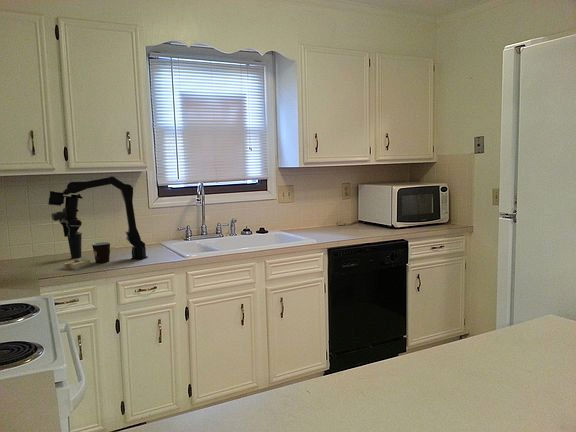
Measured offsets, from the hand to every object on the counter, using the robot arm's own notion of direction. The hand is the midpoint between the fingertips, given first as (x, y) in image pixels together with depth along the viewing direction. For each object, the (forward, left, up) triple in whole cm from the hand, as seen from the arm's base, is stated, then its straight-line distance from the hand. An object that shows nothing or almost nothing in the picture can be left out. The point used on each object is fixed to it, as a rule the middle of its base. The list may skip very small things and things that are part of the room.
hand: (68, 237), depth 236 cm
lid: (-6, +2, -14) cm, 15 cm away
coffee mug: (-12, -9, -15) cm, 21 cm away
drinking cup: (+12, -17, -15) cm, 26 cm away
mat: (-6, +2, -14) cm, 16 cm away
